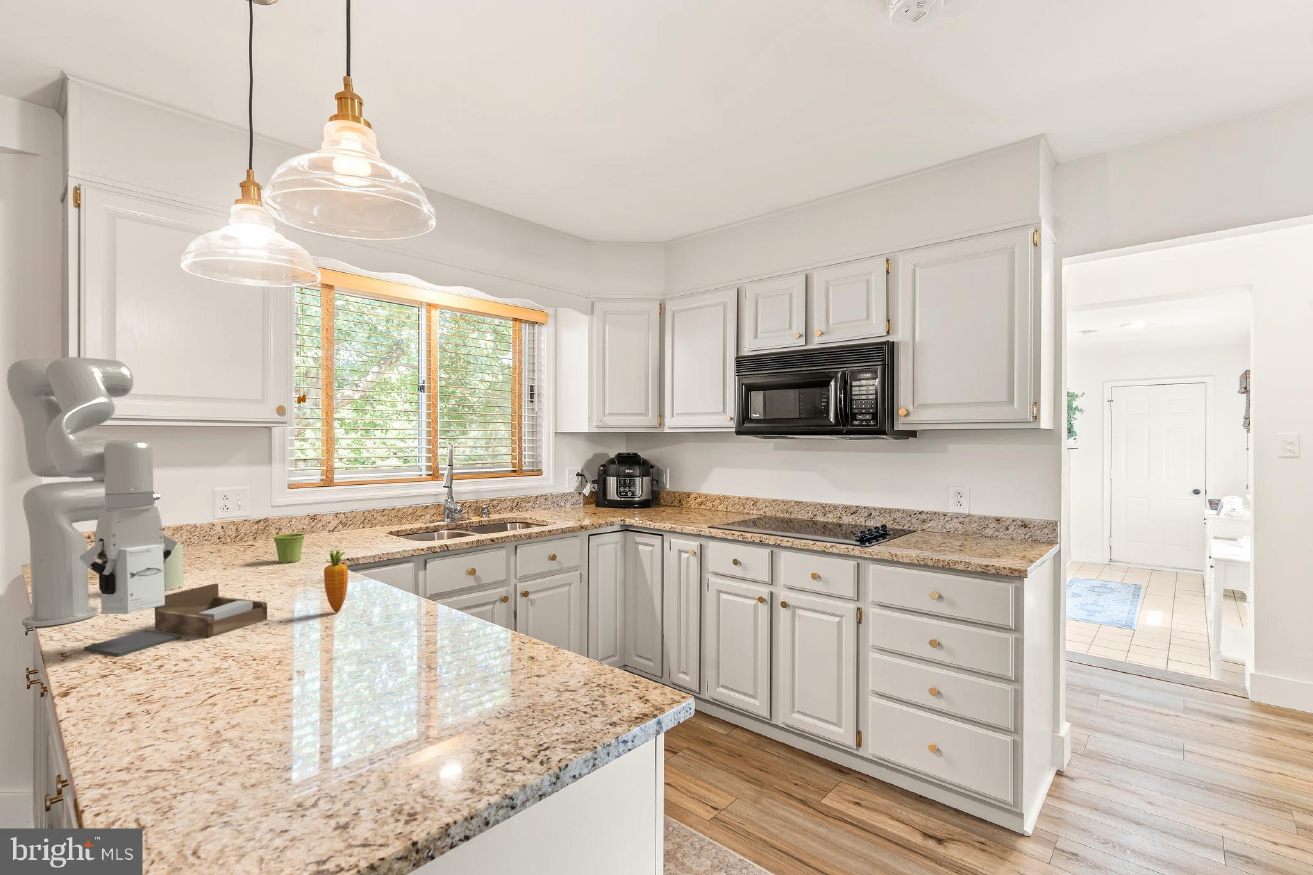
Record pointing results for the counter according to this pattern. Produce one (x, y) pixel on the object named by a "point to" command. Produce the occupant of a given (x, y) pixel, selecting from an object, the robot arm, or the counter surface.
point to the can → (174, 569)
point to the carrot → (336, 581)
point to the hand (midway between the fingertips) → (132, 588)
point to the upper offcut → (228, 609)
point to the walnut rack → (188, 604)
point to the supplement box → (136, 581)
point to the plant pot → (289, 547)
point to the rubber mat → (132, 642)
